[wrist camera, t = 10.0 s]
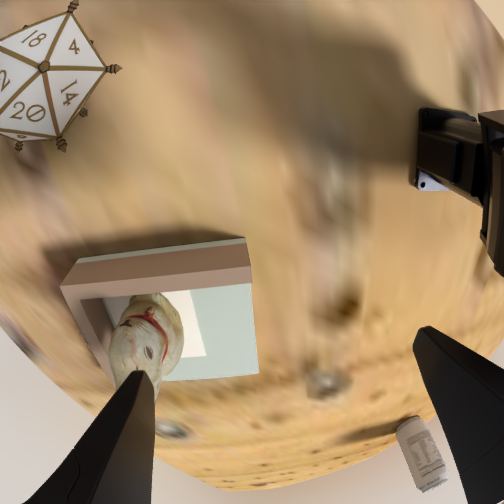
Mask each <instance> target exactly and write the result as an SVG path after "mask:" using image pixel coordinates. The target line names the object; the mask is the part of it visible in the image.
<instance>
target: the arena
mask: <svg viewBox="0 0 504 504" xmlns="http://www.w3.org/2000/svg"><path fill="white" fill-rule="evenodd" d="M250 283H252V273H251V264H250V259H249V254H248V248H247V243H246V238H239V239H230V240H221V241H213V242H204V243H196V244H188V245H179V246H171V247H163V248H155V249H147V250H139V251H131V252H123V253H116V254H108V255H101V256H93V257H86V258H79V259H78V260H77V262H76V263H75V264H74V266H73V267H72V269H71V270H70V271H69V273H68V274H67V276H66V277H65V279H64V280H63V281H62V283H61V284H60V286H59V287H60V289H61V291H62V293H63V296H64V298H65V300H66V302H67V304H68V306H69V308H70V311H71V313H72V315H73V317H74V319H75V321H76V323H77V324H78V326H79V328H80V330H81V332H82V334H83V336H84V338H85V340H86V341H87V343H88V345H89V347H90V349H91V350H92V352H93V354H94V356H95V357H96V359H97V361H98V362H99V364H100V366H101V367H102V369H103V371H104V372H105V374H106V375H107V377H108V378H109V380H110V382H111V383H112V385H113V386H114V388H115V389H116V385H115V380H114V376H113V373H112V370H111V367H110V363H109V360H108V351H109V346H110V341H111V337H112V334H113V332H114V330H115V328H116V326H117V324H118V323H119V322H120V318H121V315H122V313H123V312H124V310H125V309H126V308H127V307H128V306H129V301H130V298H131V297H132V296H133V295H141V294H152V293H161V294H162V295H163V296H165V297H166V298H167V299H168V300H169V301H170V303H171V304H172V306H173V307H174V308H175V309H176V310H177V311H178V312H179V315H180V318H181V321H182V326H183V330H184V331H183V332H184V346H183V351H182V355H181V357H180V360H179V362H178V364H177V365H176V367H175V368H174V369H173V371H172V372H171V373H170V374H169V375H167V376H163V377H162V378H161V381H177V380H195V379H209V378H221V377H232V376H241V375H250V374H258V373H259V369H258V358H257V348H256V338H255V328H254V317H253V307H252V296H251V286H250Z"/></svg>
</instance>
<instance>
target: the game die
mask: <svg viewBox="0 0 504 504" xmlns="http://www.w3.org/2000/svg"><path fill="white" fill-rule="evenodd" d="M78 5H79V0H74V1H72V2H70V5H69V6H68V11H67V12H64V13H61V14H58V15H55V16H53V17H50V18H47V19H45V20H42V21H40V22H37V23H35V24H32V25H30V26H27V25H25V26H24V27H23V28H22V29H21V30H19V31H16V32H14V33H12V34H10V35H8V36H6V37H4V38H2V39H0V135H2V136H5V137H8V138H10V139H13V140H16V141H18V142H17V143H16V147H15V149H16V151H17V153H18V152H19V151H20V150H22V146H23V144H22V142H26V141H40V140H57V144H56V145H58V149H60V150H62V151H63V152H65V151H66V145H67V143H66V142H65V141H66V140H65V139H63V138H62V136H63V134H64V133H65V131H66V130H67V129H68V127H69V126H70V124H71V123H72V121H73V120H74V119H75V117H76V116H77V115H78V113H79V114H80V116H82V117H84V116H88V115H87V110H85V108H82V107H83V106H84V104H85V103H86V101H87V100H88V98H89V97H90V95H91V93H92V92H93V90H94V89H95V88H96V86H97V85H98V83H99V82H100V80H101V79H102V77H103V76H104V75H105V73H106V72H109V73H111V74H112V73H115V74H116V72H118V71H119V70H121V69H122V67H120V66H118V65H117V64H115V65H113V64H111V65H110V66H106V65H105V63H104V61H103V60H102V58H101V57H100V55H99V54H98V52H97V51H96V49H95V48H94V46H93V41H91V40H89V38H88V37H87V35H86V34H85V32H84V30H83V29H82V27H81V26H80V24H79V23H78V21H77V19H76V18H75V16H74V15H73V11H74V10H75V9H77V6H78Z"/></svg>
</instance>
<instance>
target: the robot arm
mask: <svg viewBox="0 0 504 504" xmlns="http://www.w3.org/2000/svg"><path fill="white" fill-rule="evenodd" d="M425 112H426V113H427V114H426V116H425ZM478 120H479V123H477V119H476V118H475V117H473V116H468V115H464V114H459V113H454V112H449V111H444V110H438V109H433V108H426V107H422V108H421V109H420V110H419V135H418V154H417V170H416V181H415V186H416V188H417V189H419V190H420V191H442V190H452V191H454V192H456V193H457V194H459V195H461V196H463V197H465V198H466V199H468V200H470V201H472V202H473V203H475V204H477V205H478V206H480V207H482V208H483V218H482V229H481V230H480V239H481V240H482V242H483V243H484V245H485V246H486V248H487V253H488V255H489V256H490V258H491V260H492V261H493V263H494V269H495V270H496V271H497V272H498V273H499V274H500V275H501V276H502V277H503V278H504V110H498V111H490V112H483V113H478ZM422 182H423V183H422ZM421 183H422V185H421ZM413 352H414V355H415V358H416V361H417V363H418V366H419V369H420V372H421V375H422V378H423V381H424V384H425V387H426V389H427V392H428V394H429V396H430V399H431V401H432V403H433V406H434V408H435V410H436V413H437V415H438V418H439V420H440V423H441V425H442V428H443V430H444V433H445V435H446V438H447V441H448V443H449V446H450V449H451V452H452V454H453V457H454V460H455V463H456V466H457V469H458V471H459V474H460V475H459V476H460V479H461V482H462V485H463V488H464V491H465V495H466V498H467V502H468V504H497V503H499V502H501V501H502V500H504V369H502V368H501V367H499V366H497V365H496V364H494V363H492V362H491V361H489V360H488V359H486V358H484V357H483V356H481V355H479V354H477V353H476V352H474V351H472V350H471V349H469V348H467V347H466V346H464V345H462V344H461V343H459V342H457V341H456V340H454V339H452V338H450V337H449V336H447V335H445V334H444V333H442V332H440V331H438V330H437V329H435V328H433V327H431V326H425V327H422V328H420V329H419V330H418V332H417V335H416V337H415V340H414V343H413ZM154 443H155V392H154V386H153V384H152V382H151V380H150V378H149V376H148V374H147V372H146V371H145V370H133V371H132V372H131V373H130V374H129V375H128V377H127V378H126V379H125V381H124V382H123V383H122V384H121V386H120V387H119V388H118V390H117V391H116V392H115V394H114V395H113V396H112V397H111V399H110V400H109V401H108V403H107V404H106V405H105V407H104V408H103V409H102V411H101V412H100V413H99V414H98V416H97V417H96V418H95V420H94V421H93V423H92V424H91V425H90V427H89V428H88V429H87V431H86V432H85V433H84V435H83V436H82V437H81V438H80V440H79V441H78V442H77V444H76V445H75V447H74V449H72V450H71V452H70V453H69V454H68V456H67V457H66V458H65V460H64V461H63V462H62V464H61V465H60V466H59V467H58V468H57V469H56V471H55V472H54V473H53V474H52V475H51V476H50V477H49V478H48V480H46V482H45V483H44V484H43V485H42V486H41V487H40V488H39V489H38V490H37V491H36V492H35V493H34V494H33V495H32V496H31V497H30V498H29V499H28V500H27V501H25V502H24V503H22V504H151V488H152V470H153V455H154ZM502 504H504V502H503V503H502Z"/></svg>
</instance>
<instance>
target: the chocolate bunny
mask: <svg viewBox="0 0 504 504" xmlns="http://www.w3.org/2000/svg"><path fill="white" fill-rule="evenodd" d="M183 331H184V330H183V326H182V321H181V318H180V315H179V312H178V311H177V310H176V309H175V308H174V307H173V306H172V304H171V303H170V301H169V300H168V299H167V298H166V297H165V296H163V295H162V294H161V293H152V294H141V295H133V296H132V297H131V298H130V301H129V306H128V307H127V308H126V309H125V310H124V312H123V313H122V315H121V318H120V322H119V323H118V324H117V326H116V328H115V330H114V332H113V334H112V337H111V341H110V346H109V351H108V360H109V363H110V367H111V370H112V373H113V376H114V380H115V385H116V391H117V390H118V388H119V387H120V386H121V384H122V383H123V382H124V381H125V379H126V378H127V377H128V375H129V374H130V373H131V372H132V371H133V370H145V371H146V372H147V374H148V376H149V378H150V380H151V382H152V384H153V386H154V392H155V403H156V399H157V396H158V392H159V388H160V383H161V378H162V377H163V376H167V375H169V374H170V373H171V372H172V371H173V369H174V368H175V367H176V365H177V364H178V362H179V360H180V357H181V355H182V351H183V346H184V332H183Z"/></svg>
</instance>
